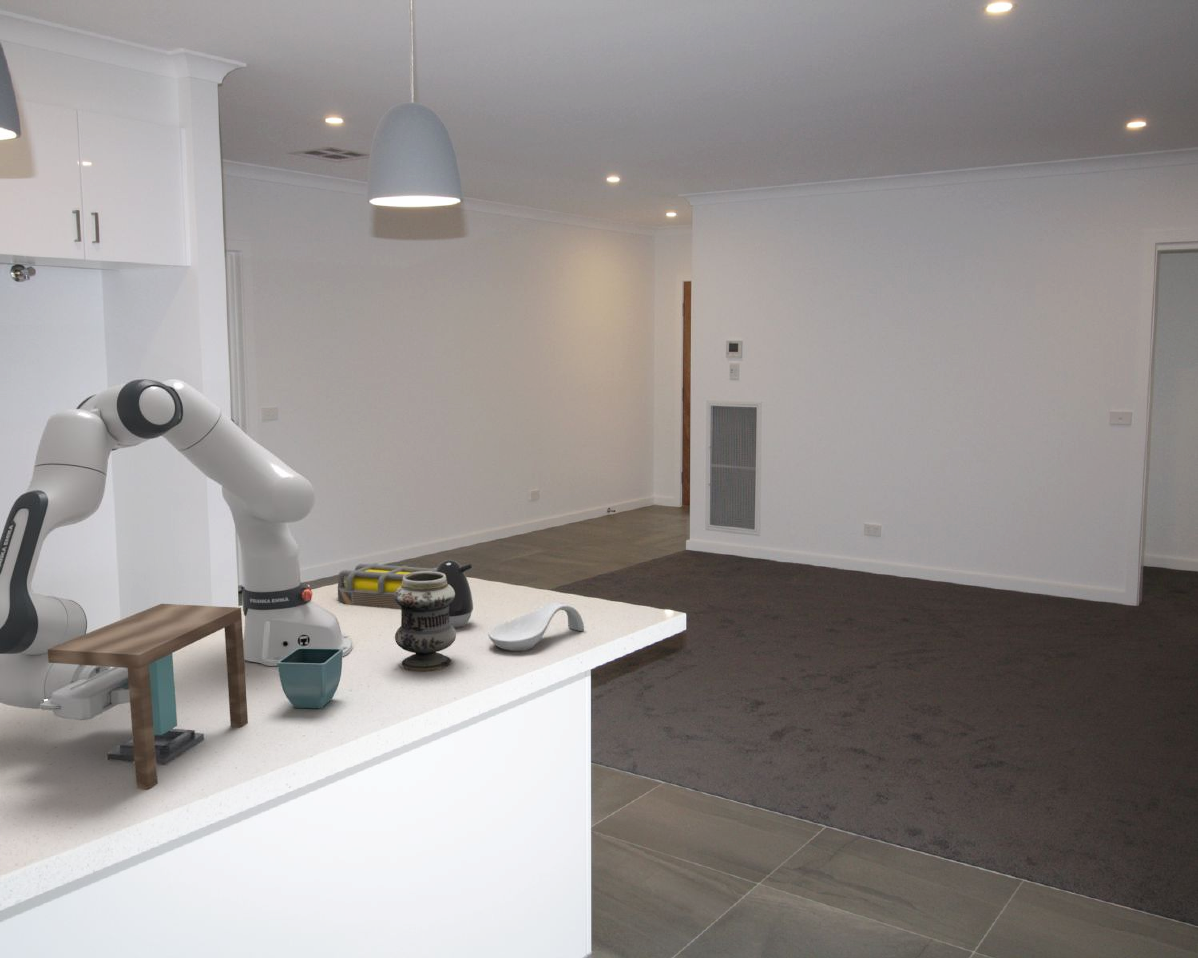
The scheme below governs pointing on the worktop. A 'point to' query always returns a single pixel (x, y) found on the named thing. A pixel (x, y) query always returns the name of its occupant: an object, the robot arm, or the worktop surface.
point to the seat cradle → (161, 746)
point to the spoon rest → (531, 627)
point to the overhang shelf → (147, 643)
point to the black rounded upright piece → (458, 592)
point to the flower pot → (310, 676)
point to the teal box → (163, 695)
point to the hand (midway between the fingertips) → (157, 689)
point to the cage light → (373, 584)
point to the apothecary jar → (425, 620)
